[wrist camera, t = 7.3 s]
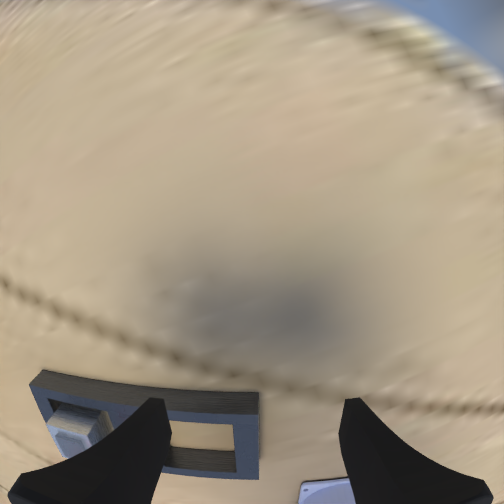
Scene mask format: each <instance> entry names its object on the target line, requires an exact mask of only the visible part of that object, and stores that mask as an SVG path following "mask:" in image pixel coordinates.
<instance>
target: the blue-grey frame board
mask: <svg viewBox="0 0 504 504" xmlns="http://www.w3.org/2000/svg"><path fill="white" fill-rule="evenodd" d="M29 386H30V389H31V391H32V394H33V396H34V398H35V401H36V403H37V405H38V407H39V410H40V412H41V414H42V416H43V418H44V420H45V422H46V423H47V422H48V420H49V419H50V418H51V416H52V415H53V414H54V412H55V411H56V410H57V408H58V407H59V406H60V405H61V403H62V402H66V403H70V404H74V405H79V406H83V407H88V408H93V409H98V410H103V411H107V412H108V415H109V417H110V420H111V423H112V426H113V428H114V430H115V429H116V428H117V427H118V426H119V425H120V424H122V423H123V422H124V421H125V420H126V419H127V418H128V417H129V416H131V415H132V414H133V413H134V412H135V411H136V410H137V409H138V408H139V407H140V406H141V405H142V404H143V403H144V402H145V401H146V400H147V399H149V398H150V397H152V398H162V399H164V401H165V406H166V410H167V415H168V419H169V420H173V421H183V422H196V423H211V424H233V434H234V446H235V452H234V451H213V450H199V449H187V448H178V447H171V446H170V445H169V450H168V454H167V457H166V460H165V463H164V466H163V468H162V471H161V472H162V473H169V474H177V475H185V476H195V477H207V478H221V479H248V480H259V393H244V392H209V391H190V390H176V389H164V388H154V387H144V386H135V385H127V384H120V383H113V382H106V381H99V380H93V379H87V378H81V377H76V376H71V375H65V374H60V373H56V372H51V371H46V370H42V371H41V372H40V373H39V374H38V375H37V376H36V377H35V378H34V379H33V380H32V382H31V383H30V384H29Z"/></svg>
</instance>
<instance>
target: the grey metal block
mask: <svg viewBox="0 0 504 504" xmlns="http://www.w3.org/2000/svg"><path fill="white" fill-rule="evenodd" d="M46 426H47V428H48V430H49V432H50V434H51V436H52V438H53V440H54V442H55V443H56V445H57V447H58V449H59V451H60V453H61V455H62V456H63V457H65V458H68V459H69V458H71V457H73V456H75V455H77V454H79V453H81V452H83V451H85V450H86V449H88V448H90V447H91V446H93V445H95V444H96V443H98V442H99V441H100V440H102V439H103V438H104V437H106V436H107V435H108V434H110V433H111V432H112V431H113V430H114V428H113V426H112V423H111V420H110V417H109V415H108V412H107V411H103V410H98V409H93V408H88V407H83V406H79V405H74V404H70V403H66V402H62V403H61V405H60V406H59V407H58V408H57V410H56V411H55V412H54V414H53V415H52V416H51V418H50V419H49V420H48V422H47V423H46Z"/></svg>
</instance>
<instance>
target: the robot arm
mask: <svg viewBox="0 0 504 504" xmlns="http://www.w3.org/2000/svg"><path fill="white" fill-rule="evenodd" d="M338 434H339V441H340V447H341V453H342V457H343V461H344V464H345V467H346V471H347V474H348V477H349V478H345V479H337V480H328V481H318V482H306V483H303V484H302V485H301V489H300V495H299V500H298V504H491V503H492V501H493V495H492V493H491V491H490V489H489V488H488V486H487V484H486V483H485V481H484V480H482V479H478V478H474V477H471V476H467V475H464V474H461V473H459V472H456V471H453V470H451V469H449V468H446V467H444V466H442V465H440V464H438V463H436V462H434V461H433V460H431V459H429V458H427V457H426V456H424V455H422V454H421V453H419V452H418V451H416V450H415V449H413V448H412V447H411V446H409V445H408V444H407V443H405V442H404V441H403V440H402V439H401V438H399V437H398V436H397V435H396V434H395V433H394V432H393V431H392V430H391V429H389V428H388V427H387V426H386V425H385V424H384V423H383V422H382V421H381V420H380V419H379V418H378V417H377V416H376V414H375V413H374V412H373V411H372V410H371V409H370V408H369V407H368V406H367V405H366V404H365V402H364V401H363V400H362V399H361V398H352V399H345V403H344V408H343V414H342V419H341V424H340V429H339V433H338ZM171 435H172V431H171V427H170V423H169V419H168V415H167V410H166V406H165V401H164V399H162V398H152V397H150V398H149V399H147V400H146V401H145V402H144V403H143V404H142V405H141V406H140V407H139V408H138V409H137V410H136V411H135V412H134V413H133V414H132V415H131V416H129V417H128V418H127V419H126V420H125V421H124V422H123V423H122V424H120V425H119V426H118V427H117V428H116V429H115V430H113V431H112V432H111V433H110V434H108V435H107V436H106V437H104V438H103V439H102V440H100V441H99V442H98V443H96V444H95V445H93V446H91V447H90V448H88V449H86V450H85V451H83V452H81V453H79V454H77V455H75V456H73V457H71V458H69V459H67V460H65V461H62V462H60V463H57V464H55V465H52V466H49V467H46V468H43V469H39V470H35V471H31V472H26V473H21V475H20V476H19V477H18V479H17V480H16V482H15V483H14V485H13V486H12V488H11V489H10V491H9V493H8V498H9V500H10V502H11V503H12V504H151V501H152V497H153V494H154V491H155V488H156V485H157V482H158V480H159V477H160V474H161V471H162V468H163V466H164V463H165V460H166V457H167V454H168V450H169V445H170V440H171Z"/></svg>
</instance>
